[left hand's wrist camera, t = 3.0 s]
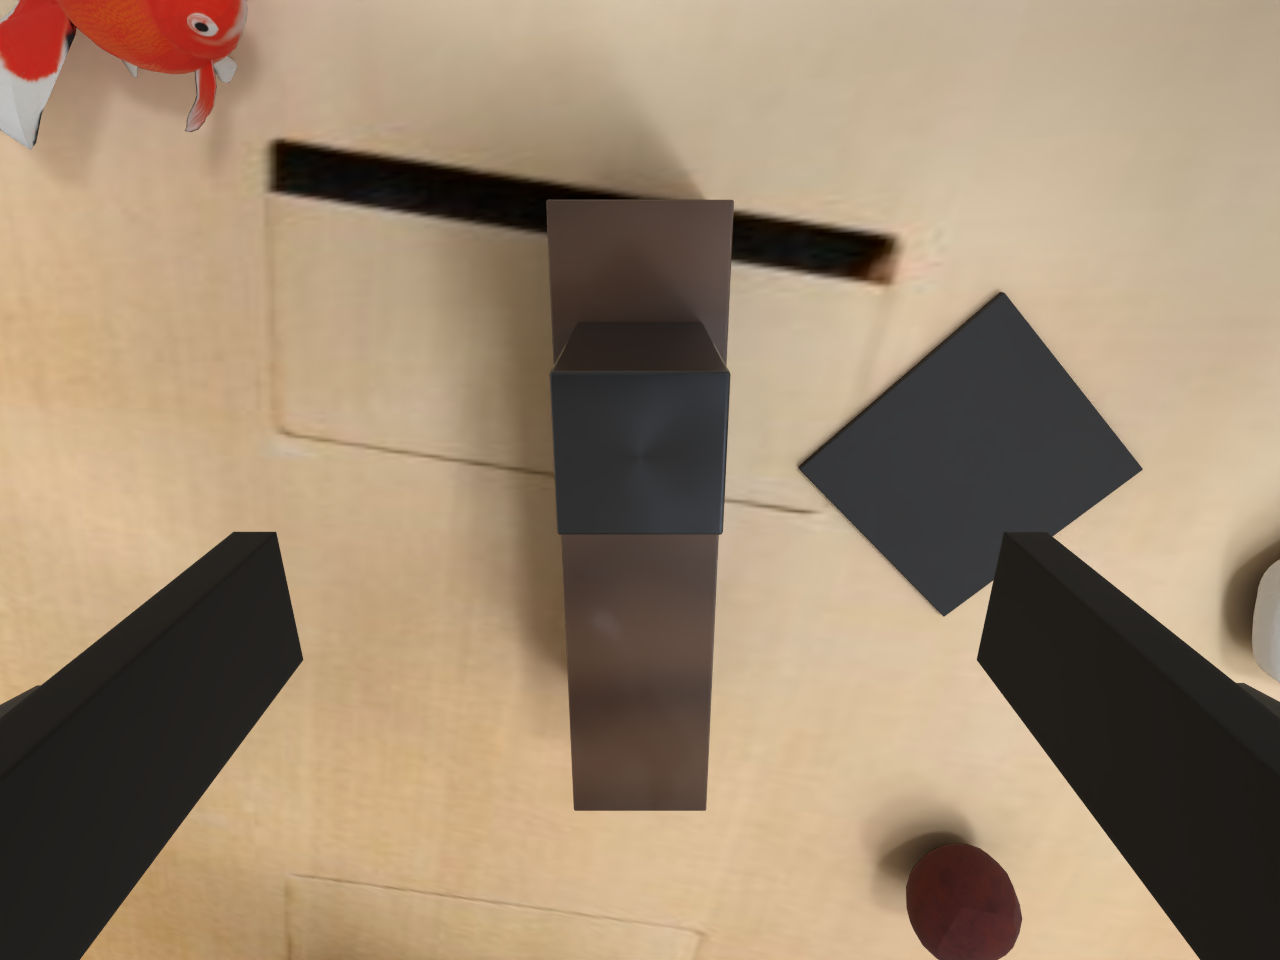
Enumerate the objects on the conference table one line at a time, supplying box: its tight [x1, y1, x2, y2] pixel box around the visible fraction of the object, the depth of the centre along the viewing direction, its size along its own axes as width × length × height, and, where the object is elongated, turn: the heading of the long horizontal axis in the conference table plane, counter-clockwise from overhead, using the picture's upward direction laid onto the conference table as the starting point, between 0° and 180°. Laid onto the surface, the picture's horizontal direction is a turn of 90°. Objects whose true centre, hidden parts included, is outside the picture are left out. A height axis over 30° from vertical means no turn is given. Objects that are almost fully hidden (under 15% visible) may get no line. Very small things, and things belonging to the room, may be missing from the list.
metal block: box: [550, 322, 730, 535], centre depth 24 cm, size 5×5×9 cm
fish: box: [0, 0, 248, 150], centre depth 29 cm, size 11×16×10 cm
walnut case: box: [546, 200, 734, 811], centre depth 36 cm, size 30×7×10 cm, turn 0°
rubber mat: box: [799, 292, 1143, 616], centre depth 40 cm, size 14×14×1 cm
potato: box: [906, 844, 1022, 960], centre depth 48 cm, size 7×8×7 cm
